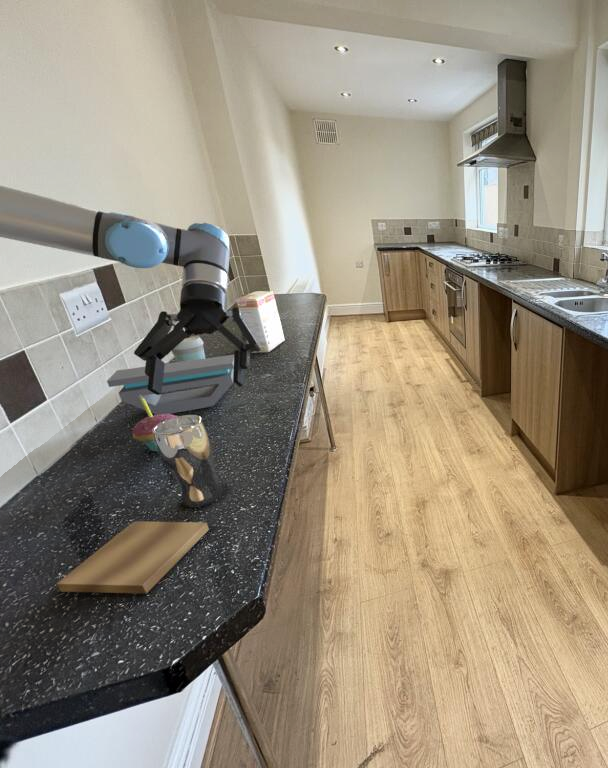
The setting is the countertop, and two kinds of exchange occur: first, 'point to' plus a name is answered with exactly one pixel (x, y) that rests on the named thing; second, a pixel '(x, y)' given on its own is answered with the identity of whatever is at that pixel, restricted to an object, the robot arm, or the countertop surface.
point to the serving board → (134, 558)
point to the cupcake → (149, 427)
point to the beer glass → (189, 458)
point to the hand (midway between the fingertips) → (197, 387)
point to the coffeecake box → (262, 319)
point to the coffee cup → (189, 349)
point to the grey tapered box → (178, 385)
